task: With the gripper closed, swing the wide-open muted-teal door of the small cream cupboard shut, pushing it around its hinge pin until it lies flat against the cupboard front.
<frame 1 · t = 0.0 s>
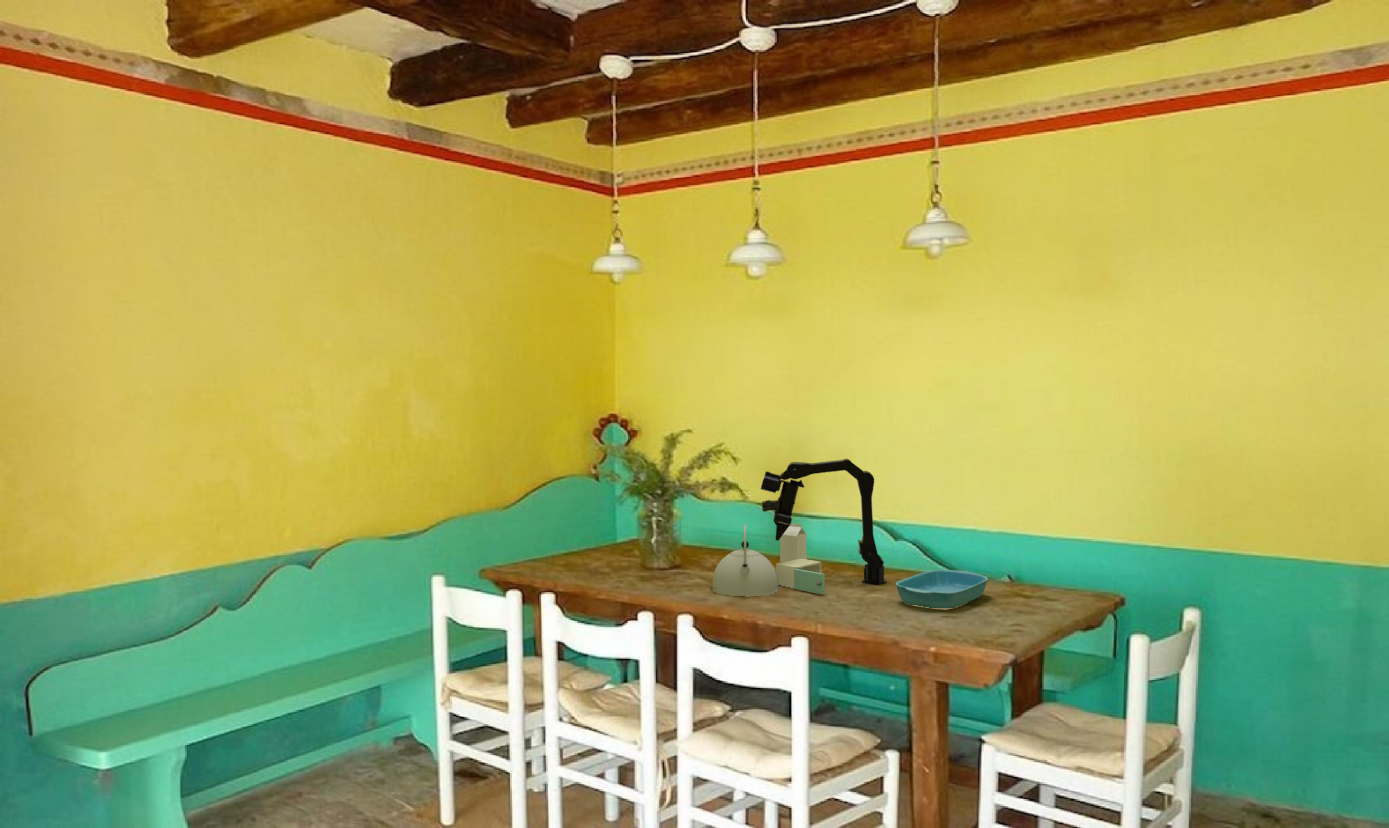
hand: (777, 538, 358), 15 cm above the table, tool pointing down, fingers open, 9 cm apart
door: (808, 581, 339), point 4 cm above the table, hinge at 90.0°
milk carton: (793, 574, 371), on the table
casserole dish: (942, 601, 328), on the table
kettle: (745, 591, 343), on the table
cupboard: (798, 584, 353), on the table
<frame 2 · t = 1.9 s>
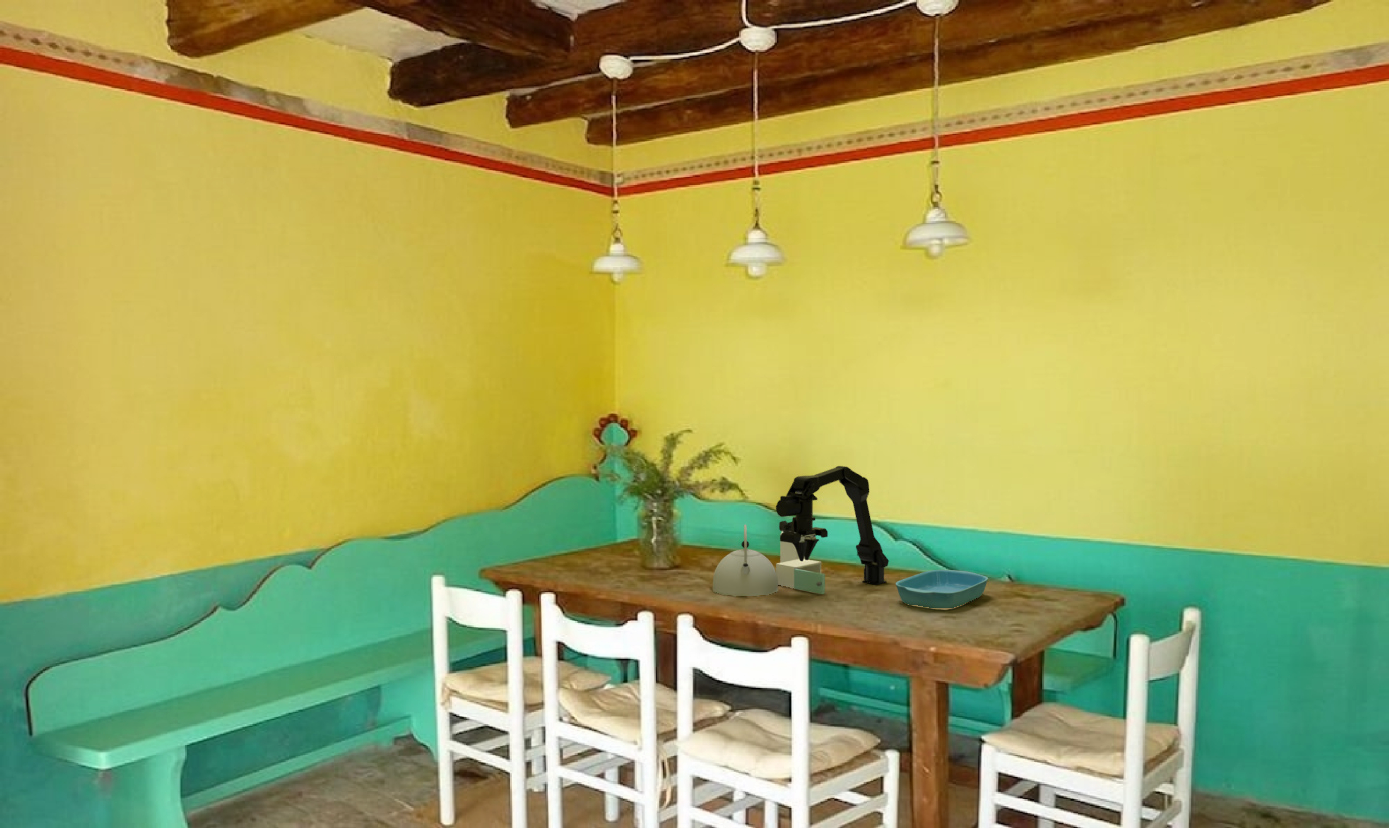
hand: (804, 560, 334), 12 cm above the table, tool pointing down, fingers closed
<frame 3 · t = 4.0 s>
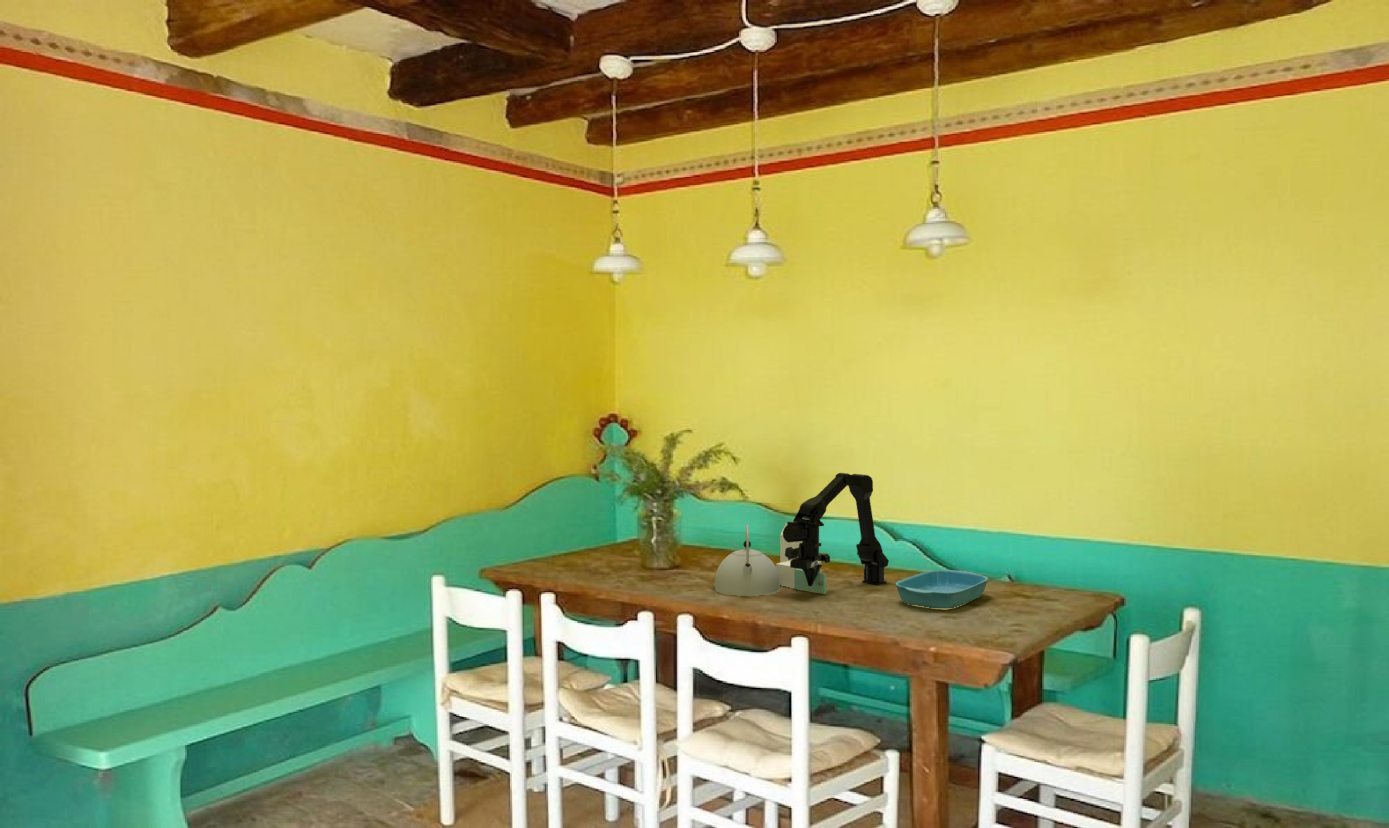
hand: (810, 586, 336), 3 cm above the table, tool pointing down, fingers closed
door: (809, 581, 339), point 4 cm above the table, hinge at 86.6°, touching gripper
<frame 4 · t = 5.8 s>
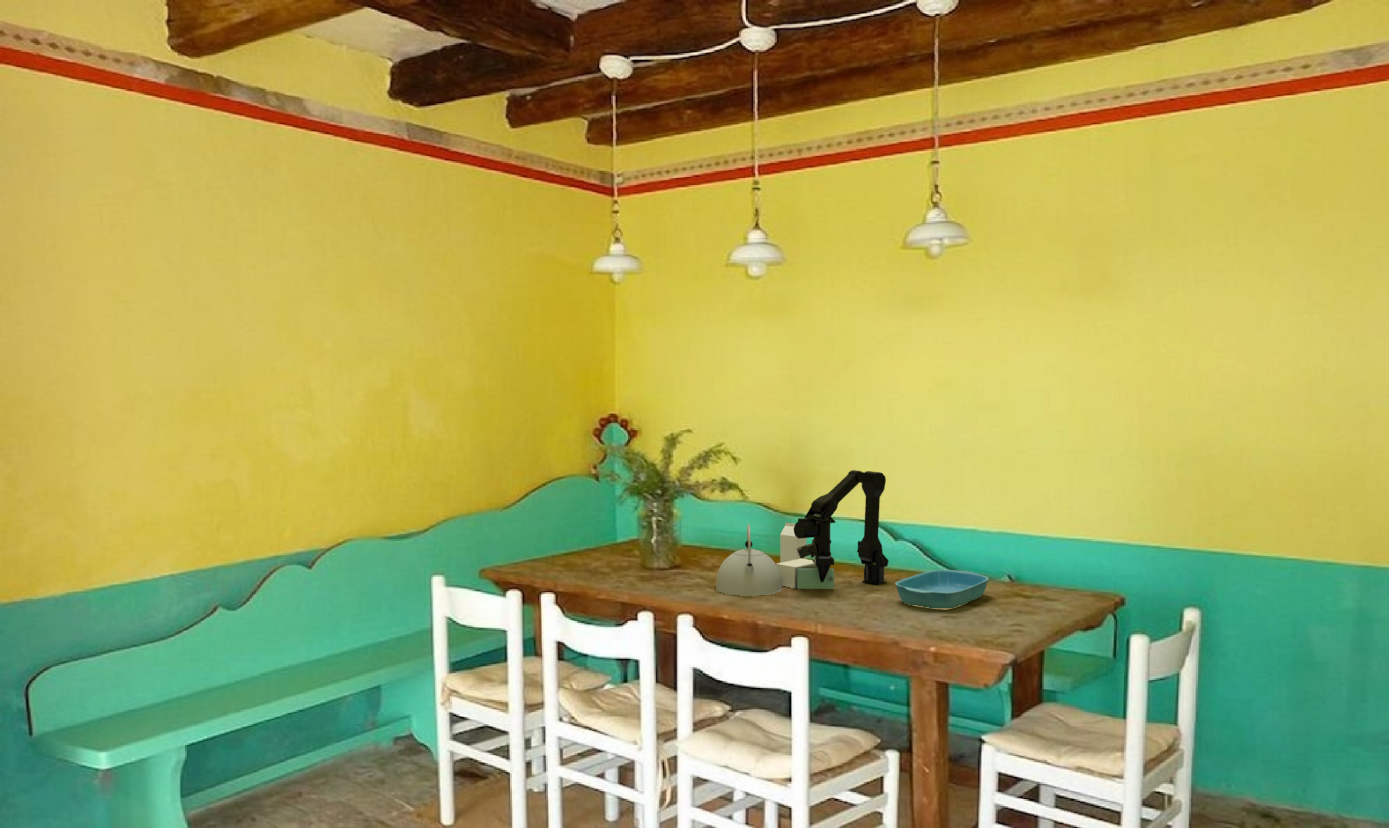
hand: (821, 582, 341), 3 cm above the table, tool pointing down, fingers closed
door: (815, 578, 343), point 4 cm above the table, hinge at 45.2°, touching gripper
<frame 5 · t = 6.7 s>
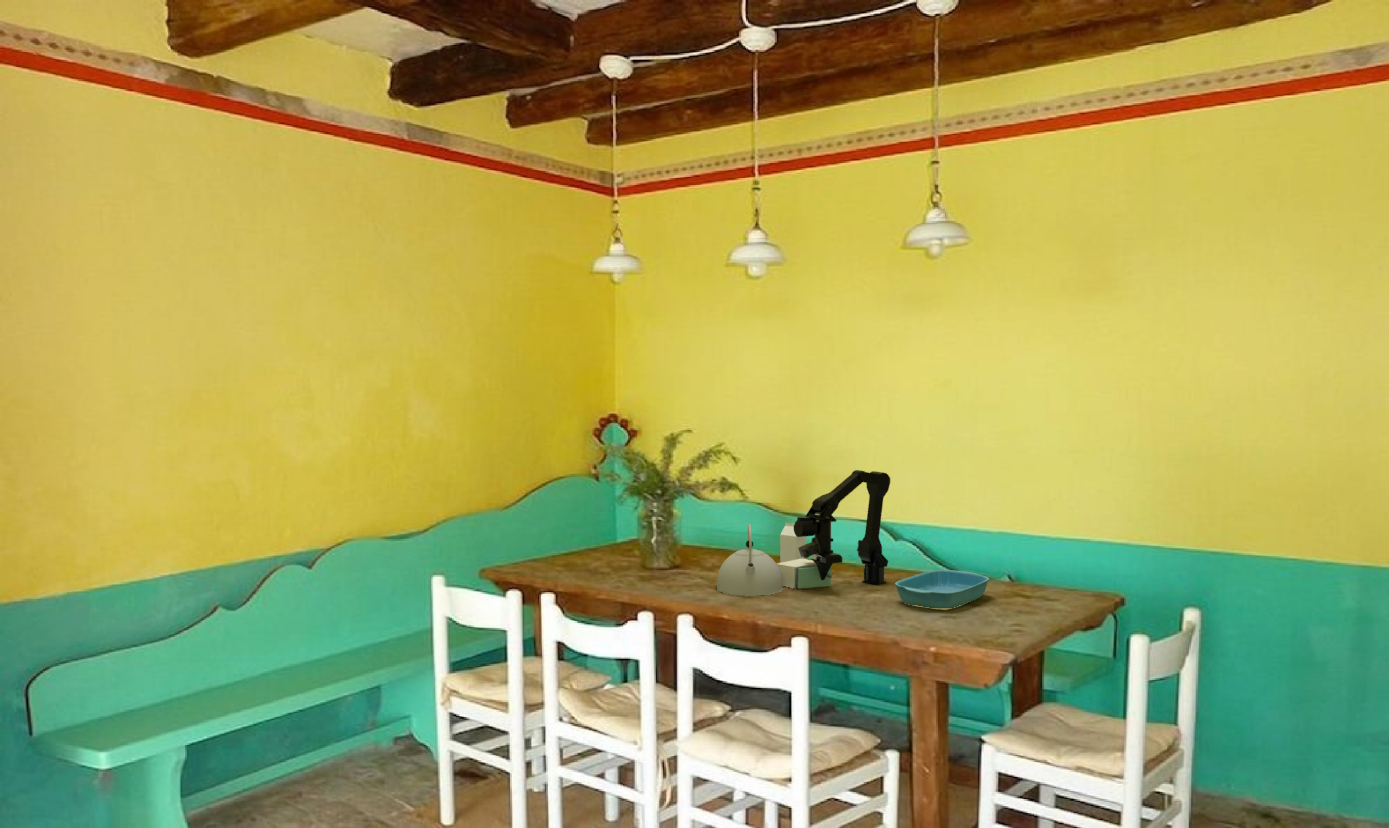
hand: (822, 580, 344), 3 cm above the table, tool pointing down, fingers closed
door: (815, 577, 346), point 4 cm above the table, hinge at 22.9°, touching gripper
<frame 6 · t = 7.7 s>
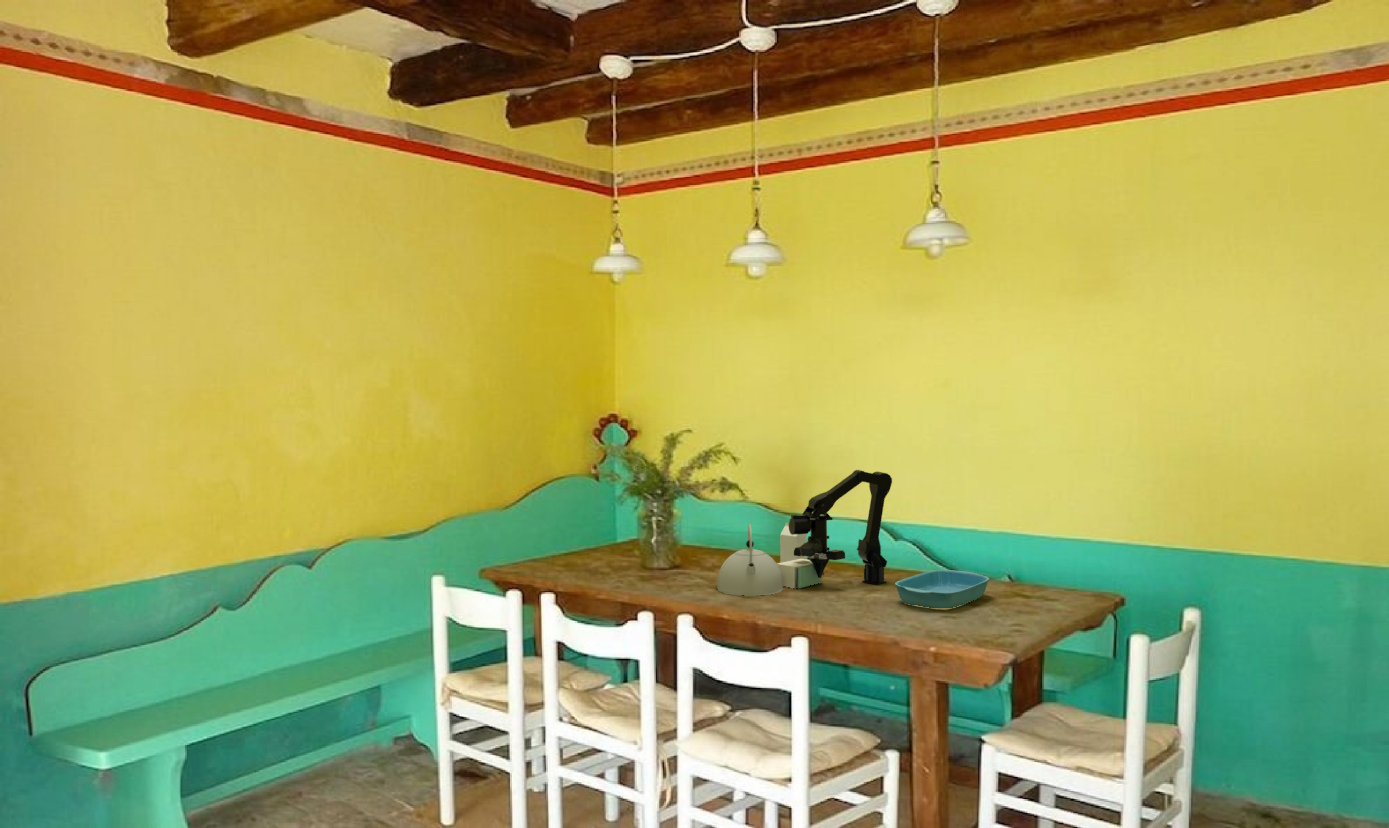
hand: (819, 577, 348), 3 cm above the table, tool pointing down, fingers closed
door: (811, 575, 349), point 4 cm above the table, hinge at -1.8°, touching cupboard, gripper
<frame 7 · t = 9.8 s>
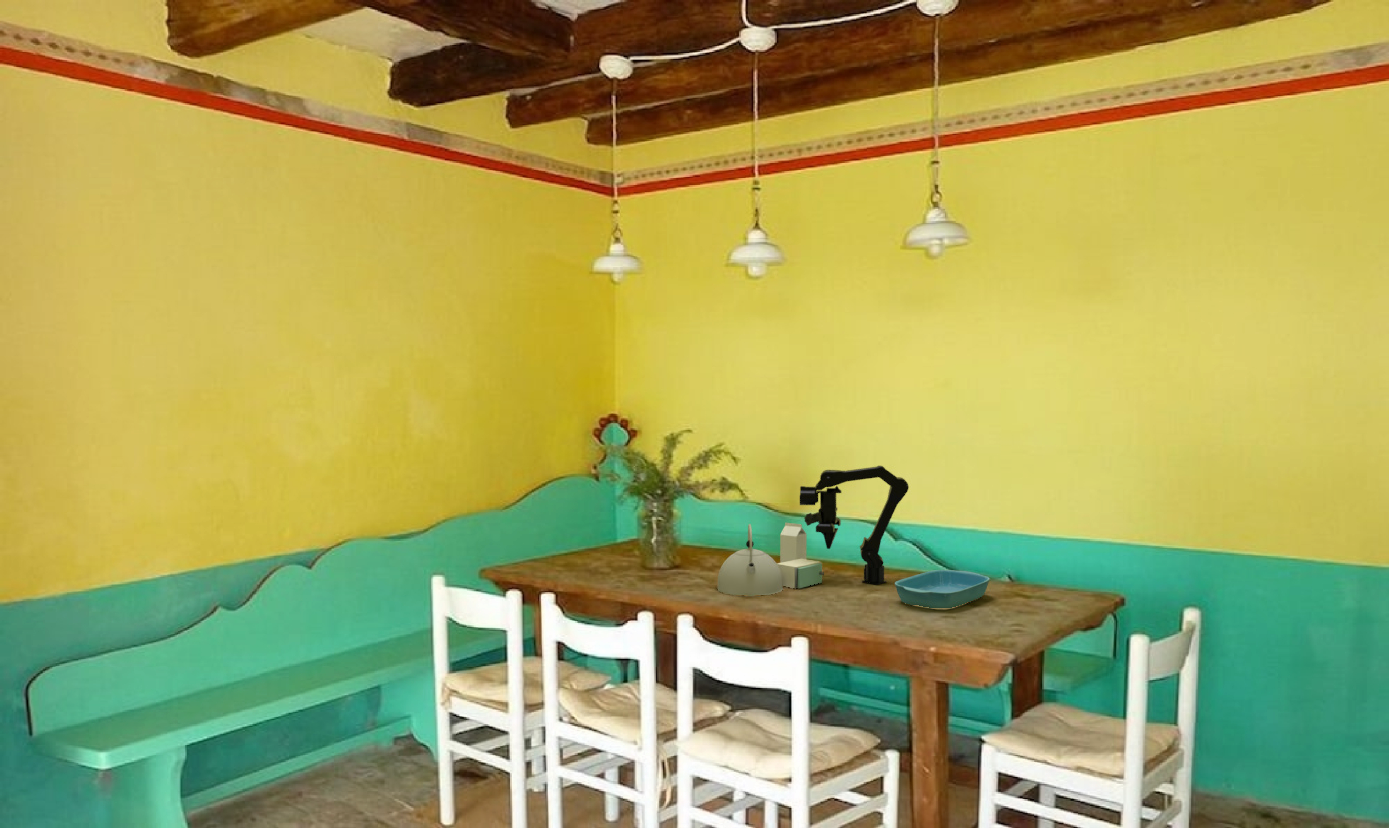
hand: (828, 548, 357), 12 cm above the table, tool pointing down, fingers closed
door: (811, 575, 349), point 4 cm above the table, hinge at -1.7°
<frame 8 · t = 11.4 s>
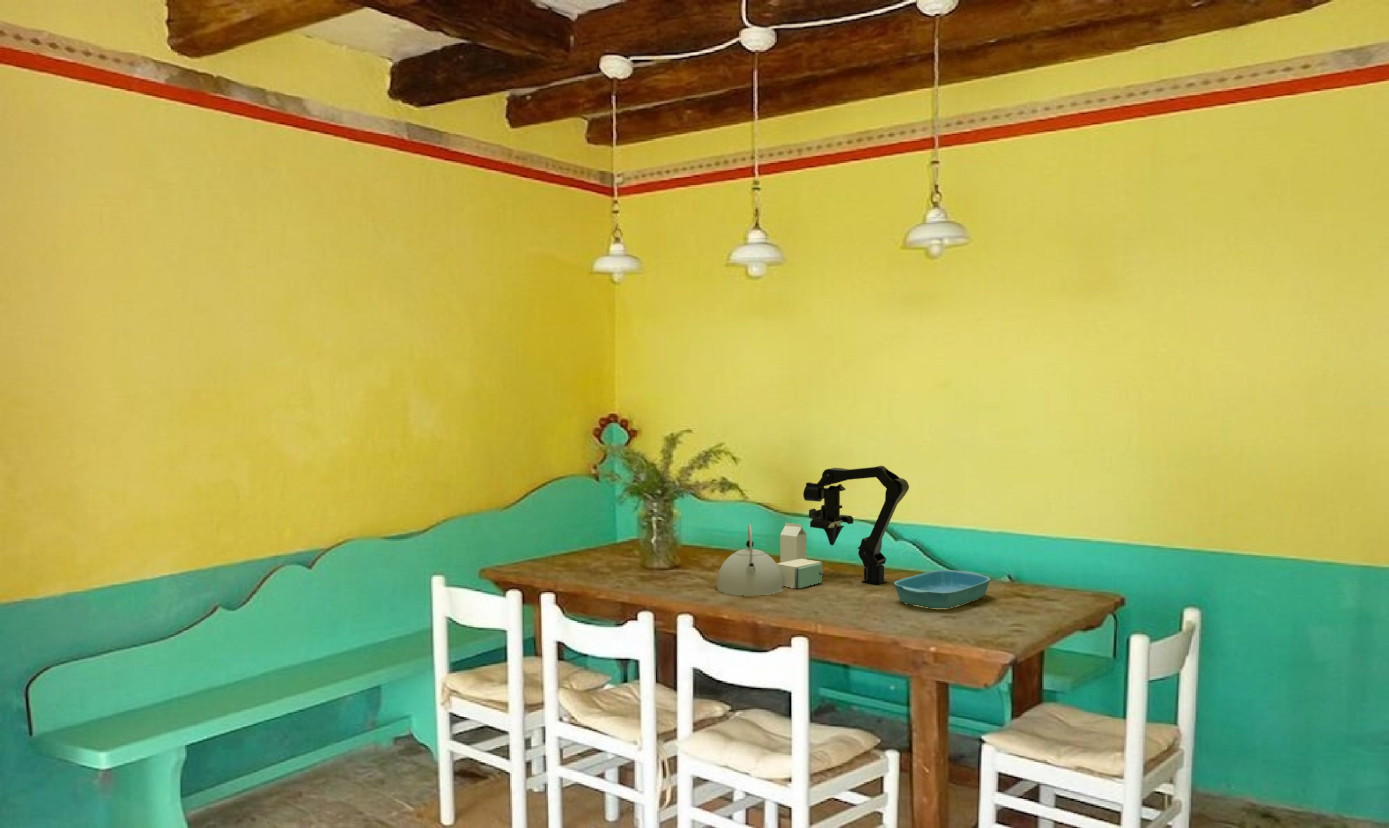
hand: (831, 545, 363), 12 cm above the table, tool pointing down, fingers closed
at the end: door at -2° (first picture: +90°); the gripper is holding nothing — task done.
